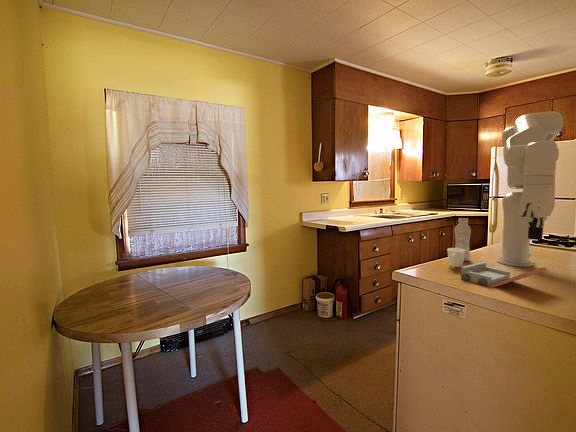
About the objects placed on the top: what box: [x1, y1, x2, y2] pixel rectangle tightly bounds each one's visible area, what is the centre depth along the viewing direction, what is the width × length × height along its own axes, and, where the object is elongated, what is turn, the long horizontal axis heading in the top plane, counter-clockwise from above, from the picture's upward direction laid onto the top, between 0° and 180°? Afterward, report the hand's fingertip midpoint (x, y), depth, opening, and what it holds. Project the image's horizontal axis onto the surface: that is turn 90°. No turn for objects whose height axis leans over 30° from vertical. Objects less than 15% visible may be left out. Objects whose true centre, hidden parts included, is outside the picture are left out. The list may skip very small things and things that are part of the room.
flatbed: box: [460, 261, 511, 288], centre depth 110 cm, size 15×11×5 cm
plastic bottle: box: [454, 217, 472, 263], centre depth 136 cm, size 6×7×20 cm
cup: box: [446, 247, 466, 270], centre depth 125 cm, size 7×10×8 cm
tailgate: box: [492, 266, 548, 288], centre depth 100 cm, size 12×12×1 cm
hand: (534, 239), depth 95 cm, fingers closed
